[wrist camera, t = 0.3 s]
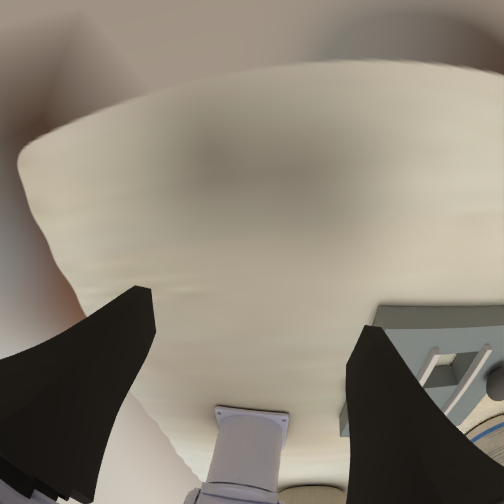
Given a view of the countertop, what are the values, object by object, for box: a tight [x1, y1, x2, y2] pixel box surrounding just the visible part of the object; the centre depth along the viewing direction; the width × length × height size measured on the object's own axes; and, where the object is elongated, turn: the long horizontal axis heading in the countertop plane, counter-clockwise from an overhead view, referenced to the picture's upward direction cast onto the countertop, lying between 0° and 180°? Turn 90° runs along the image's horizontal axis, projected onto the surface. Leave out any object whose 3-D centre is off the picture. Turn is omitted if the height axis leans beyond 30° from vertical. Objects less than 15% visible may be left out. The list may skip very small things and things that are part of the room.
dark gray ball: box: [486, 367, 504, 401], centre depth 18 cm, size 3×3×3 cm
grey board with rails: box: [339, 306, 504, 437], centre depth 22 cm, size 16×15×3 cm
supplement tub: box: [466, 415, 504, 466], centre depth 23 cm, size 10×10×15 cm
